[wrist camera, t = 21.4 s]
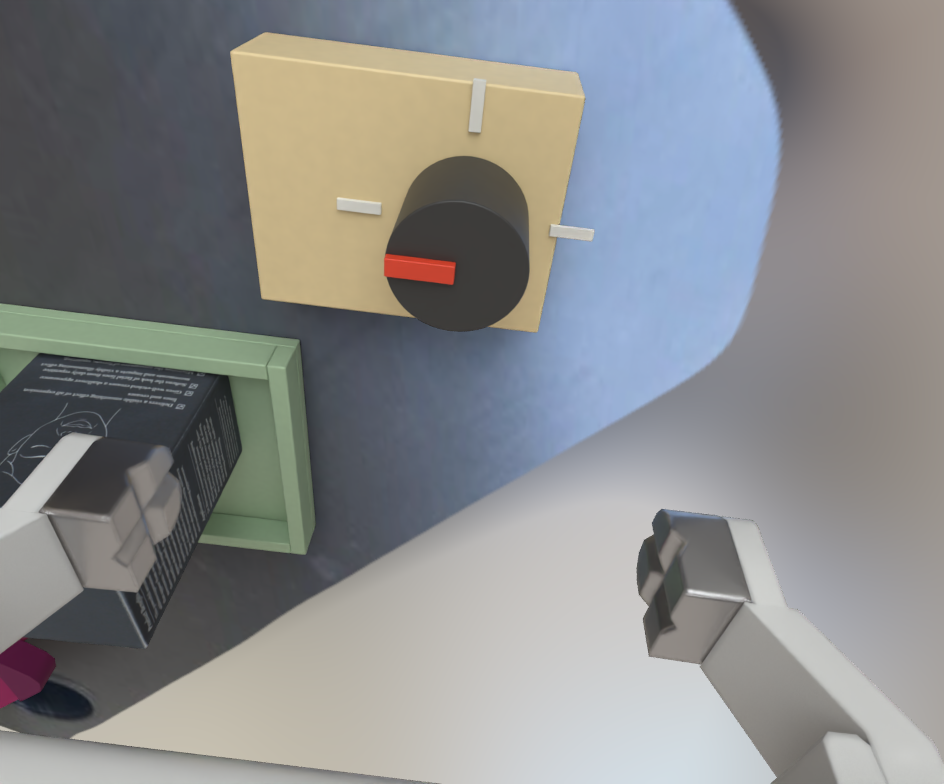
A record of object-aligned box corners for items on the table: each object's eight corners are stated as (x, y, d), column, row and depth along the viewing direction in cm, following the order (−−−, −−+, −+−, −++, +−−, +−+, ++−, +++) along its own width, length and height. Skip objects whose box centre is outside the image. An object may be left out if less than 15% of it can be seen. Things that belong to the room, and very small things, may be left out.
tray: (299, 339, 27) (285, 368, 25) (316, 524, 35) (305, 555, 33) (-39, 298, 27) (-76, 324, 25) (54, 494, 35) (31, 523, 33)
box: (88, 433, 30) (-72, 633, 22) (49, 338, 27) (-158, 534, 19) (247, 451, 31) (146, 656, 22) (230, 358, 27) (103, 562, 19)
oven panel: (613, 73, 20) (627, 98, 17) (563, 297, 25) (567, 342, 22) (263, 27, 19) (226, 47, 17) (286, 263, 25) (259, 304, 22)
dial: (538, 164, 19) (541, 215, 16) (518, 282, 21) (517, 346, 18) (405, 147, 18) (382, 195, 16) (401, 267, 21) (381, 329, 18)
